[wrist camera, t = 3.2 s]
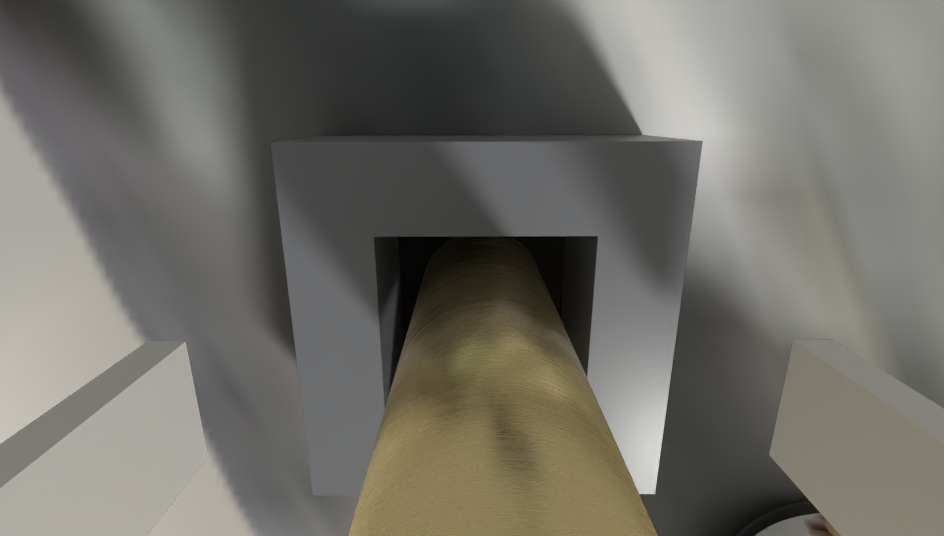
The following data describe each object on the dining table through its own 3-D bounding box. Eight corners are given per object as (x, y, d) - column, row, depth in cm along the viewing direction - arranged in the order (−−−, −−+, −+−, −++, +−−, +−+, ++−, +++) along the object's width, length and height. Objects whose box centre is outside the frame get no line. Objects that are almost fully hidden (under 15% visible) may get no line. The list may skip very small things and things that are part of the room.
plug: (420, 230, 16) (168, 812, 3) (542, 229, 16) (915, 808, 3) (424, 341, 17) (265, 1131, 4) (538, 340, 17) (777, 1128, 4)
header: (320, 135, 15) (270, 142, 11) (643, 135, 15) (702, 141, 11) (346, 415, 18) (313, 495, 14) (615, 414, 18) (655, 493, 14)
